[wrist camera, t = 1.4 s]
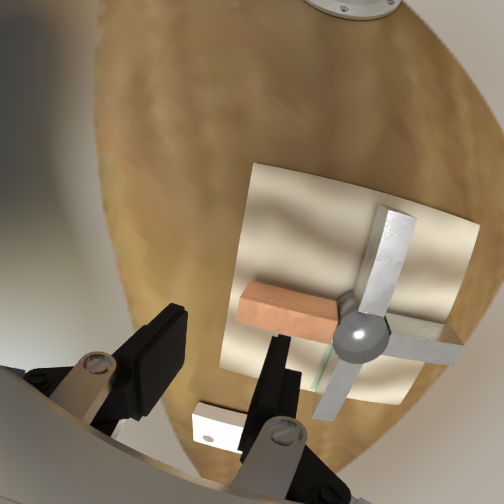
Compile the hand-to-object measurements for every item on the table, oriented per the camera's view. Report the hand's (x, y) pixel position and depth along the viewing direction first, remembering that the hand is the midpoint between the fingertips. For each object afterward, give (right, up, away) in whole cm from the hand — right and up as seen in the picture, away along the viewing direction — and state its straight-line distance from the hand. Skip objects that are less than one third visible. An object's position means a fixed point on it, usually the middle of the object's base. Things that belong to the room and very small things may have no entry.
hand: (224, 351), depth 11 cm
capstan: (+12, -2, +17) cm, 21 cm away
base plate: (+11, -1, +18) cm, 21 cm away
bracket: (0, -22, +28) cm, 35 cm away
